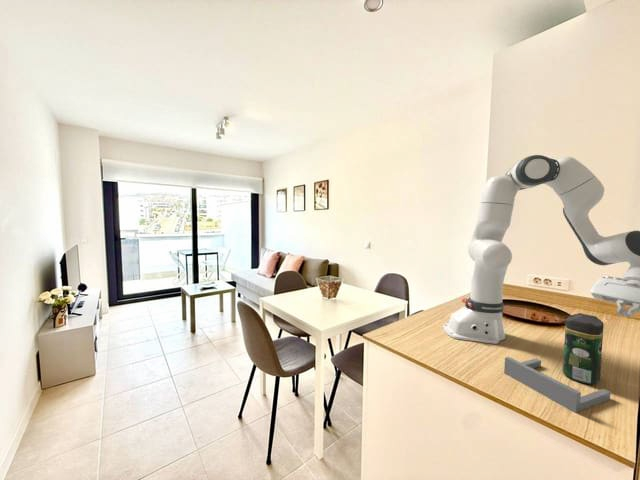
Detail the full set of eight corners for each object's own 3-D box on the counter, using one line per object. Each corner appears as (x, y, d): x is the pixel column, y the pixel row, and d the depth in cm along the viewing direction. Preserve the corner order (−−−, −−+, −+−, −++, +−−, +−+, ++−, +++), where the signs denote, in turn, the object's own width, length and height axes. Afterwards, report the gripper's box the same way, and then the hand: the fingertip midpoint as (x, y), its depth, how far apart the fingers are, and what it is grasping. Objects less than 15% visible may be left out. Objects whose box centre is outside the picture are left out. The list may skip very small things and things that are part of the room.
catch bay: (535, 364, 87) (536, 349, 87) (610, 399, 70) (611, 381, 70) (504, 373, 83) (504, 357, 82) (575, 412, 66) (577, 393, 65)
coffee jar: (567, 365, 87) (570, 309, 85) (602, 376, 80) (607, 316, 79) (558, 375, 81) (562, 316, 79) (595, 389, 75) (600, 324, 73)
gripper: (597, 269, 97) (579, 299, 95) (690, 282, 78) (669, 320, 75) (604, 280, 99) (586, 310, 97) (695, 296, 80) (675, 333, 77)
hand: (623, 314), depth 86 cm, fingers closed
